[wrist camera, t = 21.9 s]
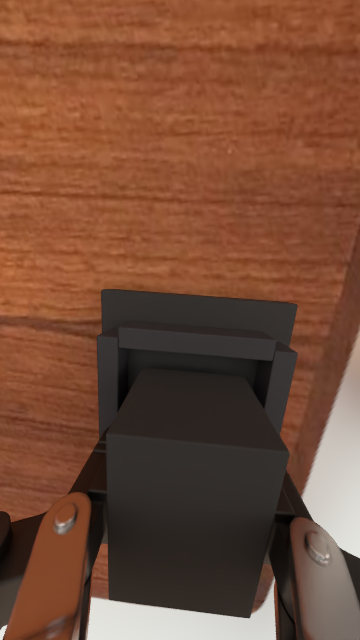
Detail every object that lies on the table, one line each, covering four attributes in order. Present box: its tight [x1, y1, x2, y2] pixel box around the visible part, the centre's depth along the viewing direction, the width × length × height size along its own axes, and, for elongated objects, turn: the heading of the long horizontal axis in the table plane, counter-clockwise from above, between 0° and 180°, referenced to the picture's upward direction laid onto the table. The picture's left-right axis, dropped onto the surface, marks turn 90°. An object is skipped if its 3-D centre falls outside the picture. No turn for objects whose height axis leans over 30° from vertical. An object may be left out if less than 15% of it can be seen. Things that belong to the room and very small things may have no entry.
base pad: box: [97, 289, 298, 439], centre depth 10 cm, size 14×10×3 cm
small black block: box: [106, 367, 289, 618], centre depth 7 cm, size 7×5×4 cm
